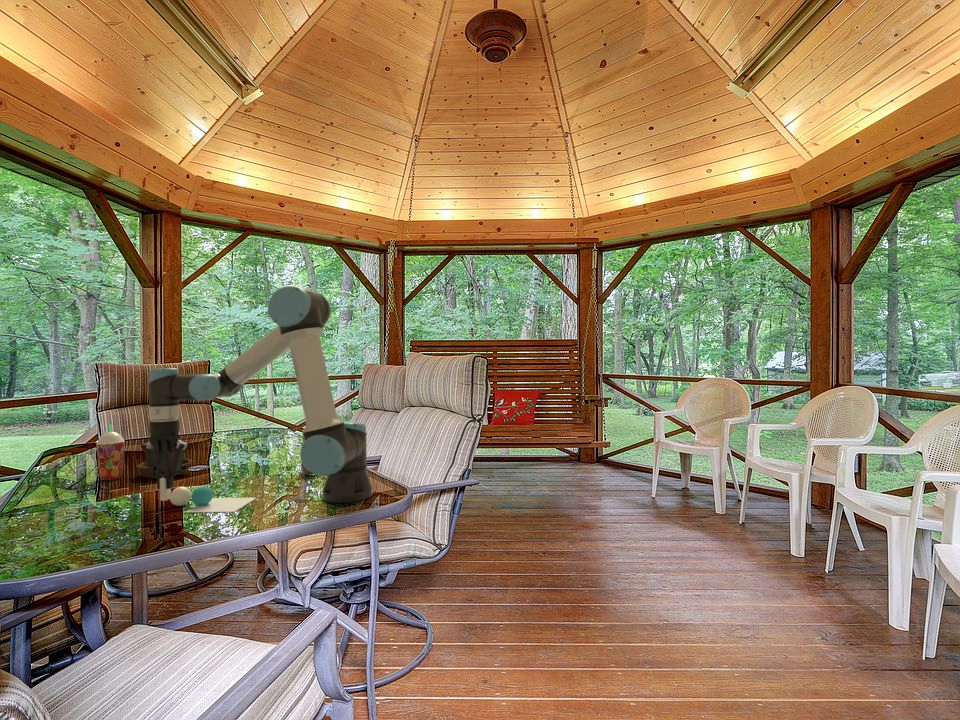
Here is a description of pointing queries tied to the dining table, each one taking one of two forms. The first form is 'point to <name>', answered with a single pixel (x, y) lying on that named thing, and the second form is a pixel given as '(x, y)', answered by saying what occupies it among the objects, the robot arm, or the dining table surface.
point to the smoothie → (110, 455)
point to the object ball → (202, 496)
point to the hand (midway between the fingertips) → (165, 499)
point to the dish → (145, 473)
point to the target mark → (222, 505)
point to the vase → (305, 470)
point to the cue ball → (180, 496)
